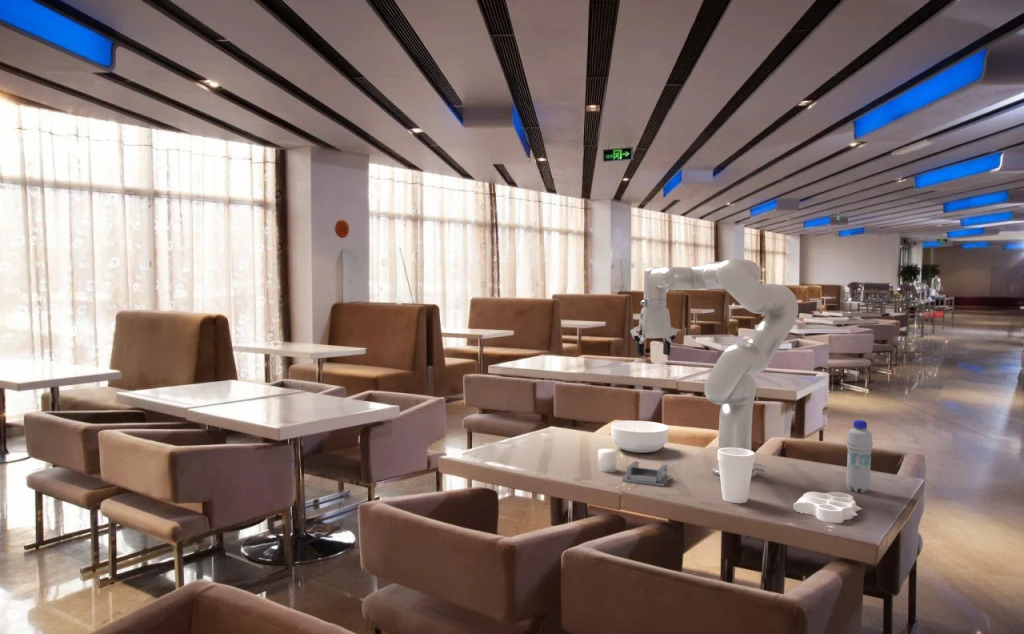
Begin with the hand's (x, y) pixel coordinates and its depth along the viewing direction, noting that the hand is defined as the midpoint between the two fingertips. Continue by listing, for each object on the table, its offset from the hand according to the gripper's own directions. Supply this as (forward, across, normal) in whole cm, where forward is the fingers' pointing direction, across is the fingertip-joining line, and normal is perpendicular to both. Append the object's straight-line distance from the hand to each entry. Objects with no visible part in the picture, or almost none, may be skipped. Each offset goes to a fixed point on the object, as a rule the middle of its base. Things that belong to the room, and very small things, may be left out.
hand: (653, 354), depth 237 cm
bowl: (+34, -2, +6) cm, 35 cm away
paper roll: (+34, -23, -15) cm, 44 cm away
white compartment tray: (+34, +15, -67) cm, 76 cm away
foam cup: (+34, -3, -52) cm, 62 cm away
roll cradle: (+34, -16, -28) cm, 47 cm away
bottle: (+34, +36, -54) cm, 73 cm away
